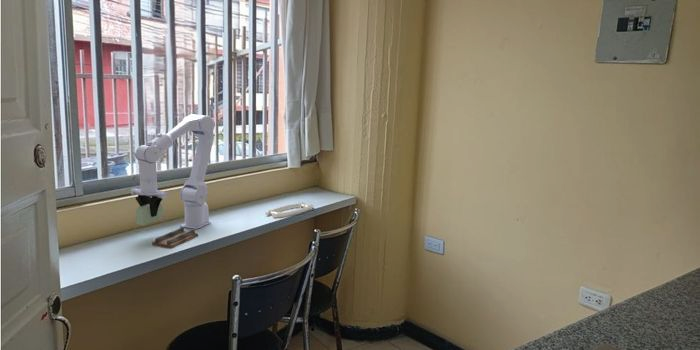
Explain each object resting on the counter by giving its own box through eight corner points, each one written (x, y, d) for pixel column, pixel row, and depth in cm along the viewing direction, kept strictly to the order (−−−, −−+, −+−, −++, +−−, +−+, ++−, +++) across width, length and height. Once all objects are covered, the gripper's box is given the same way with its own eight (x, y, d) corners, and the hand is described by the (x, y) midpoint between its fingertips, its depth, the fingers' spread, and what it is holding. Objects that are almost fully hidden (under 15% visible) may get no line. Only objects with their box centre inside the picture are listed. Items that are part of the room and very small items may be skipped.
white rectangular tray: (261, 216, 214) (302, 205, 233) (276, 220, 207) (317, 209, 226) (261, 210, 213) (302, 200, 232) (276, 214, 207) (317, 204, 226)
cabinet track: (180, 232, 186) (180, 226, 185) (198, 235, 183) (197, 229, 183) (152, 244, 172) (152, 238, 172) (171, 248, 169) (170, 241, 169)
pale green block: (156, 217, 183) (155, 201, 182) (162, 218, 182) (162, 202, 181) (136, 224, 174) (135, 208, 173) (143, 225, 173) (142, 209, 172)
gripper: (123, 178, 174) (125, 215, 176) (157, 183, 169) (158, 220, 172) (138, 175, 180) (140, 211, 183) (170, 179, 176) (172, 215, 178)
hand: (150, 215), depth 178 cm, fingers closed on pale green block, 3 cm apart
